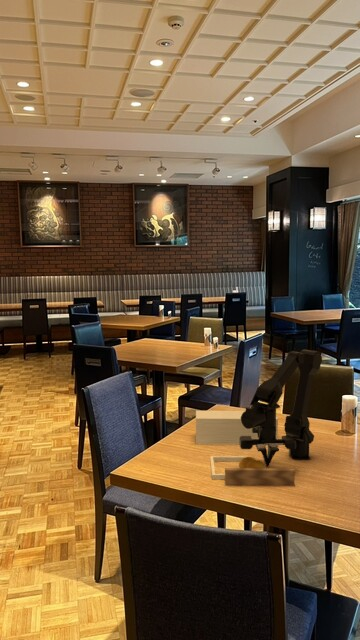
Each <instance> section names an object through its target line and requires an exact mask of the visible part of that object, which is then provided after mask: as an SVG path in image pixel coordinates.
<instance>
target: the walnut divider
mask: <svg viewBox="0 0 360 640" xmlns="http://www.w3.org/2000/svg"><path fill="white" fill-rule="evenodd" d="M224 474H225V479H224V485H225V486H282V487H283V486H290V487H291V486H294V487H295V479H296V478H295V475H296V471H295V468H291V467H289V468H287V467H285V468H284V467H283V468H280V467H279V468H278V467H277V468H276V467H275V468H273V467H270V468H268V467H265V468H239V467H237V468H236V467H224Z"/></svg>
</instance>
